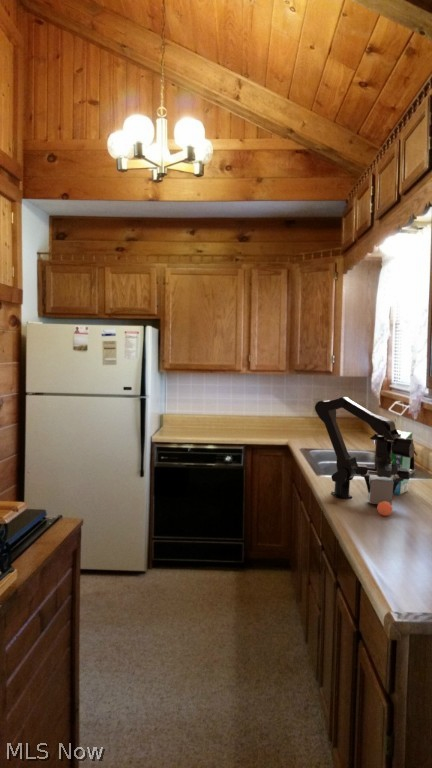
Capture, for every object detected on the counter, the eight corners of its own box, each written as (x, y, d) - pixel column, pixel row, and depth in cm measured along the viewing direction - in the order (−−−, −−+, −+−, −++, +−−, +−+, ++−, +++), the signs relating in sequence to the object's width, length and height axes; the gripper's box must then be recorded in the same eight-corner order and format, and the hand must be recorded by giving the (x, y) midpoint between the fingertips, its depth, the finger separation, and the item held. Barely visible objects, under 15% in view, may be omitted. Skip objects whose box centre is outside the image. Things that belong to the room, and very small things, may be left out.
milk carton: (378, 489, 193) (382, 431, 191) (386, 485, 200) (391, 429, 198) (399, 495, 187) (404, 434, 185) (408, 490, 194) (412, 432, 192)
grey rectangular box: (367, 496, 177) (369, 474, 177) (388, 499, 176) (390, 476, 175) (369, 503, 170) (371, 479, 169) (391, 505, 168) (393, 482, 167)
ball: (376, 508, 160) (374, 515, 163) (391, 514, 158) (389, 520, 161) (380, 496, 162) (378, 503, 166) (395, 501, 160) (392, 508, 164)
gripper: (358, 455, 165) (355, 497, 167) (414, 460, 161) (410, 503, 162) (356, 448, 176) (353, 488, 177) (408, 453, 172) (405, 494, 173)
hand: (380, 493), depth 172 cm, fingers closed on grey rectangular box, 8 cm apart
